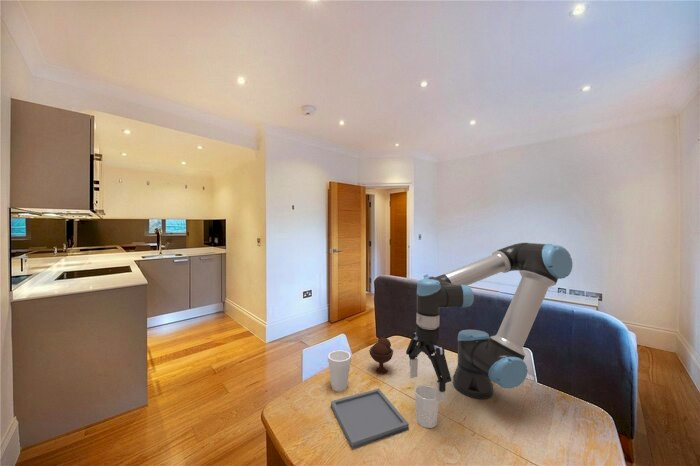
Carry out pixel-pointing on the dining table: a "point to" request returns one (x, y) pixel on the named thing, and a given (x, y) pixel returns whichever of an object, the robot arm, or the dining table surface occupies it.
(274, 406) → the dining table surface
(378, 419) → the tray
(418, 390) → the white cup
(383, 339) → the ice cream bowl
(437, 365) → the robot arm
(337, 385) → the foam cup
